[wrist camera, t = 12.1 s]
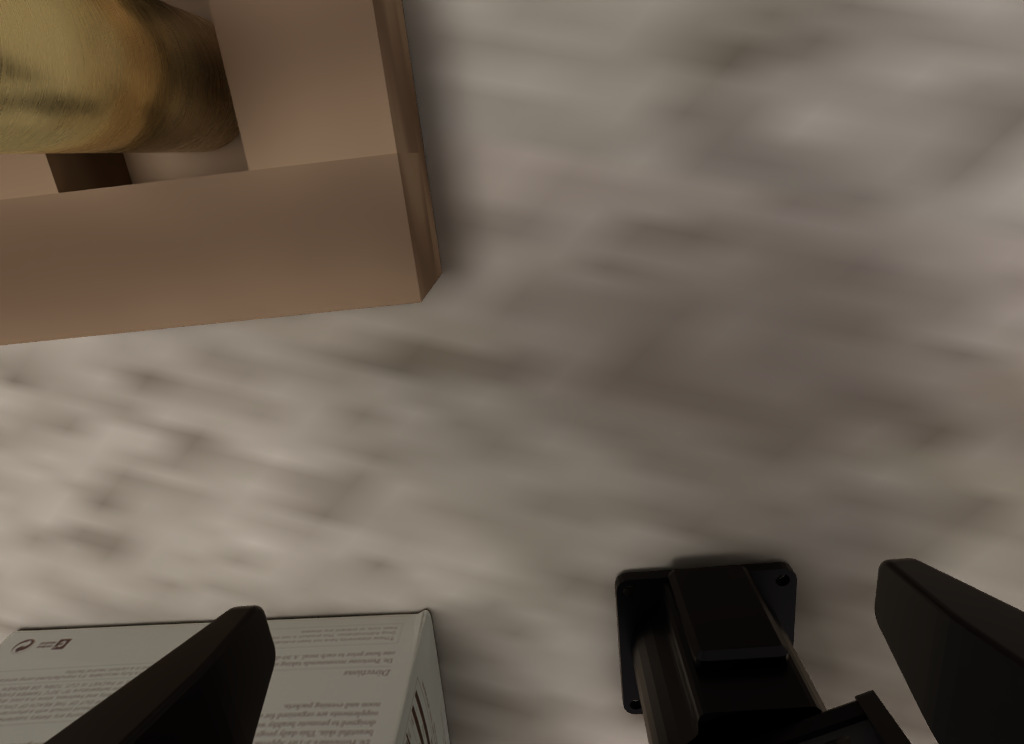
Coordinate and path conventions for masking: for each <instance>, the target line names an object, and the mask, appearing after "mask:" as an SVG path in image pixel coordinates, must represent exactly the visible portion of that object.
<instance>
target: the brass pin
mask: <svg viewBox="0 0 1024 744" xmlns="http://www.w3.org/2000/svg"><path fill="white" fill-rule="evenodd" d="M239 133H240V131H239V126H238V122H237V118H236V114H235V110H234V106H233V101H232V97H231V93H230V89H229V85H228V81H227V76H226V72H225V68H224V64H223V60H222V56H221V51H220V47H219V43H218V39H217V35H216V31H215V26H214V24H213V23H212V22H210V21H208V20H206V19H205V18H202V17H200V16H197V15H195V14H192V13H190V12H187V11H185V10H182V9H180V8H177V7H175V6H172V5H170V4H168V3H165V2H163V1H160V0H0V154H46V153H192V152H209V151H214V150H217V149H219V148H222V147H224V146H225V145H227V144H229V143H230V142H231V141H233V140H234V139H235V138H236V137H237V136H238V135H239Z"/></svg>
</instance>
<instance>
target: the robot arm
mask: <svg viewBox="0 0 1024 744" xmlns="http://www.w3.org/2000/svg"><path fill="white" fill-rule="evenodd" d="M780 575H785V576H784V577H783V578H781V579H776V578H777V577H778V576H780ZM626 586H634V587H633V588H632V589H630V590H626V589H624V588H625V587H626ZM796 586H797V578H796V574H795V573H794V571H793V570H792V568H791V567H790V566H789V564H786V563H784V562H772V563H758V564H745V565H731V566H717V567H704V568H690V569H676V570H663V571H649V572H635V573H626V574H622V575H621V576H619V577H618V578H617V579H616V581H615V596H616V611H617V626H618V642H619V657H620V672H621V688H622V699H623V705H624V708H625V710H626V711H627V712H629V713H631V714H643V716H644V721H645V726H646V731H647V736H648V741H649V744H911V743H910V741H909V740H908V738H907V737H906V736H905V734H904V733H903V731H902V730H901V729H900V727H899V726H898V724H897V723H896V722H895V720H894V719H893V717H892V716H891V715H890V713H889V712H888V710H887V709H886V708H885V706H884V705H883V703H882V702H881V701H880V699H879V698H878V696H877V695H876V694H875V692H874V691H873V690H871V691H869V692H866V693H863V694H860V695H857V696H855V699H856V700H855V701H852V702H850V703H847V704H844V705H841V706H838V707H836V708H833V709H830V710H827V709H826V707H825V706H824V704H823V702H822V700H821V698H820V696H819V694H818V692H817V691H816V689H815V687H814V685H813V683H812V681H811V679H810V677H809V675H808V674H807V672H806V670H805V668H804V666H803V664H802V662H801V660H800V659H799V657H798V655H797V653H796V651H795V649H794V647H793V642H794V623H795V605H796ZM875 615H876V619H877V622H878V625H879V627H880V629H881V631H882V633H883V635H884V637H885V639H886V641H887V644H888V646H889V648H890V650H891V652H892V654H893V656H894V658H895V660H896V662H897V664H898V666H899V668H900V670H901V672H902V674H903V676H904V678H905V680H906V682H907V684H908V686H909V688H910V690H911V692H912V694H913V696H914V698H915V700H916V702H917V704H918V706H919V708H920V711H921V713H922V714H923V716H924V718H925V720H926V722H927V724H928V726H929V728H930V730H931V732H932V733H933V735H934V737H935V738H936V740H937V742H938V743H939V744H1024V612H1023V611H1021V610H1019V609H1017V608H1015V607H1013V606H1011V605H1009V604H1007V603H1005V602H1003V601H1001V600H999V599H997V598H994V597H992V596H990V595H988V594H986V593H984V592H982V591H980V590H978V589H976V588H974V587H972V586H970V585H968V584H966V583H964V582H962V581H960V580H958V579H955V578H953V577H951V576H949V575H947V574H945V573H943V572H941V571H939V570H937V569H935V568H933V567H931V566H929V565H927V564H925V563H923V562H921V561H918V560H916V559H912V558H904V559H891V560H885V561H883V562H882V563H881V564H880V566H879V571H878V580H877V589H876V598H875ZM275 659H276V651H275V645H274V642H273V639H272V635H271V632H270V629H269V625H268V622H267V619H266V615H265V613H264V610H263V609H262V608H261V607H259V606H256V605H254V606H239V607H233V608H231V609H229V610H228V611H226V612H225V613H224V614H222V615H221V616H219V617H218V618H217V619H215V620H214V621H213V622H211V623H210V624H208V625H207V626H206V627H204V628H203V629H201V630H200V631H199V632H197V633H196V634H195V635H193V636H192V637H190V638H189V639H188V640H186V641H185V642H183V643H182V644H181V645H179V646H178V647H176V648H175V649H174V650H172V651H171V652H170V653H168V654H167V655H165V656H164V657H163V658H161V659H160V660H158V661H157V662H156V663H154V664H153V665H151V666H150V667H149V668H147V669H146V670H145V671H143V672H142V673H140V674H139V675H138V676H136V677H135V678H133V679H132V680H131V681H129V682H128V683H126V684H125V685H124V686H122V687H121V688H120V689H118V690H117V691H115V692H114V693H113V694H111V695H110V696H108V697H107V698H106V699H104V700H103V701H101V702H100V703H99V704H97V705H96V706H95V707H93V708H92V709H90V710H89V711H88V712H86V713H85V714H83V715H82V716H81V717H79V718H78V719H76V720H75V721H74V722H72V723H71V724H70V725H68V726H67V727H65V728H64V729H63V730H61V731H60V732H58V733H57V734H56V735H54V736H53V737H51V738H50V739H49V740H47V741H46V742H45V743H43V744H252V743H253V740H254V736H255V733H256V729H257V726H258V722H259V719H260V715H261V712H262V708H263V705H264V701H265V698H266V694H267V690H268V687H269V683H270V680H271V676H272V673H273V669H274V665H275ZM633 700H638V701H633Z"/></svg>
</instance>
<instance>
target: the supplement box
mask: <svg viewBox="0 0 1024 744" xmlns="http://www.w3.org/2000/svg"><path fill="white" fill-rule="evenodd" d="M267 622H268V625H269V629H270V632H271V635H272V639H273V642H274V645H275V651H276V659H275V665H274V669H273V673H272V676H271V680H270V683H269V687H268V690H267V694H266V698H265V701H264V705H263V708H262V712H261V715H260V719H259V722H258V726H257V729H256V733H255V736H254V740H253V743H252V744H450V740H449V733H448V726H447V719H446V712H445V705H444V698H443V691H442V685H441V678H440V671H439V664H438V657H437V650H436V644H435V638H434V631H433V624H432V619H431V615H430V613H429V612H428V610H424V611H422V612H420V613H419V614H400V615H376V616H353V617H329V618H306V619H282V620H267ZM208 624H210V623H188V624H164V625H141V626H120V627H98V628H77V629H56V630H34V631H17V632H13V633H12V634H11V635H10V636H9V637H8V638H7V639H5V640H4V641H3V642H2V643H1V644H0V744H43V743H45V742H46V741H47V740H49V739H50V738H51V737H53V736H54V735H56V734H57V733H58V732H60V731H61V730H63V729H64V728H65V727H67V726H68V725H70V724H71V723H72V722H74V721H75V720H76V719H78V718H79V717H81V716H82V715H83V714H85V713H86V712H88V711H89V710H90V709H92V708H93V707H95V706H96V705H97V704H99V703H100V702H101V701H103V700H104V699H106V698H107V697H108V696H110V695H111V694H113V693H114V692H115V691H117V690H118V689H120V688H121V687H122V686H124V685H125V684H126V683H128V682H129V681H131V680H132V679H133V678H135V677H136V676H138V675H139V674H140V673H142V672H143V671H145V670H146V669H147V668H149V667H150V666H151V665H153V664H154V663H156V662H157V661H158V660H160V659H161V658H163V657H164V656H165V655H167V654H168V653H170V652H171V651H172V650H174V649H175V648H176V647H178V646H179V645H181V644H182V643H183V642H185V641H186V640H188V639H189V638H190V637H192V636H193V635H195V634H196V633H197V632H199V631H200V630H201V629H203V628H204V627H206V626H207V625H208Z"/></svg>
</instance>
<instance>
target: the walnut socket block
mask: <svg viewBox="0 0 1024 744" xmlns="http://www.w3.org/2000/svg"><path fill="white" fill-rule="evenodd" d="M160 1H163V2H165V3H168V4H170V5H172V6H175V7H177V8H180V9H182V10H185V11H187V12H190V13H192V14H195V15H197V16H200V17H202V18H205V19H206V20H208V21H210V22H212V23H213V24H214V26H215V31H216V35H217V39H218V43H219V47H220V51H221V56H222V60H223V64H224V68H225V72H226V76H227V81H228V85H229V89H230V93H231V97H232V101H233V106H234V110H235V114H236V118H237V122H238V126H239V131H240V133H239V135H238V136H237V137H236V138H235V139H234V140H233V141H231V142H230V143H229V144H227V145H225V146H224V147H222V148H219V149H217V150H214V151H209V152H192V153H46V154H0V345H8V344H17V343H27V342H37V341H47V340H57V339H66V338H76V337H86V336H96V335H105V334H115V333H125V332H135V331H145V330H154V329H164V328H174V327H184V326H194V325H203V324H213V323H223V322H233V321H242V320H252V319H262V318H272V317H282V316H291V315H301V314H311V313H321V312H330V311H340V310H350V309H360V308H370V307H379V306H389V305H399V304H409V303H419V302H422V300H423V299H424V298H425V296H426V295H427V293H428V292H429V291H430V289H431V288H432V286H433V285H434V284H435V282H436V281H437V279H438V278H439V277H440V275H441V274H442V269H441V262H440V255H439V248H438V242H437V235H436V228H435V221H434V215H433V208H432V201H431V194H430V188H429V181H428V174H427V167H426V161H425V154H424V147H423V140H422V134H421V127H420V120H419V113H418V107H417V100H416V93H415V86H414V80H413V73H412V66H411V59H410V53H409V46H408V39H407V32H406V26H405V19H404V12H403V5H402V0H160Z"/></svg>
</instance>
